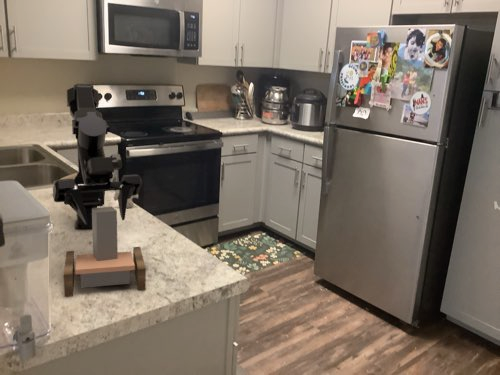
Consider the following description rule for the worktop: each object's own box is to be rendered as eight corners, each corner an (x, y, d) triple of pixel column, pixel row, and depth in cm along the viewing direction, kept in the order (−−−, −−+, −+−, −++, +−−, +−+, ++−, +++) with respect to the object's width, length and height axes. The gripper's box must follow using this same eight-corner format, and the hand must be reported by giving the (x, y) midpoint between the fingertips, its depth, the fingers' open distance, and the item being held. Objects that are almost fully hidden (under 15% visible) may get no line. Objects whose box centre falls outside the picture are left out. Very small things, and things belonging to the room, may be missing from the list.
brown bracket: (67, 271, 107) (66, 251, 105) (140, 266, 112) (140, 246, 110) (64, 296, 96) (63, 274, 94) (145, 289, 101) (145, 268, 100)
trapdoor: (77, 271, 106) (76, 254, 105) (131, 267, 110) (131, 251, 109) (75, 288, 97) (75, 269, 96) (134, 283, 100) (134, 265, 100)
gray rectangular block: (93, 255, 105) (91, 208, 103) (112, 253, 107) (111, 206, 106) (97, 261, 101) (96, 212, 100) (117, 258, 104) (116, 210, 102)
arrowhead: (137, 205, 155) (137, 177, 153) (139, 208, 153) (139, 178, 150) (113, 207, 152) (112, 177, 150) (114, 209, 150) (114, 179, 147)
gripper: (52, 142, 96) (63, 209, 90) (140, 140, 106) (155, 200, 100) (48, 170, 105) (58, 232, 99) (130, 166, 114) (144, 222, 108)
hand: (105, 221), depth 101 cm, fingers open, 8 cm apart
